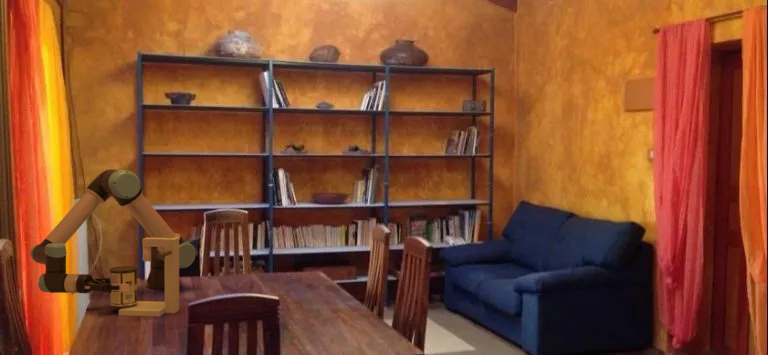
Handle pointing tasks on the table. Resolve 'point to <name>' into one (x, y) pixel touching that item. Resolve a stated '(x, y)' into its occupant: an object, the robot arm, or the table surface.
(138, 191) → the robot arm
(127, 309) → the press
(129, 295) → the coffee can
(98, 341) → the table surface
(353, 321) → the table surface
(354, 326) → the table surface
